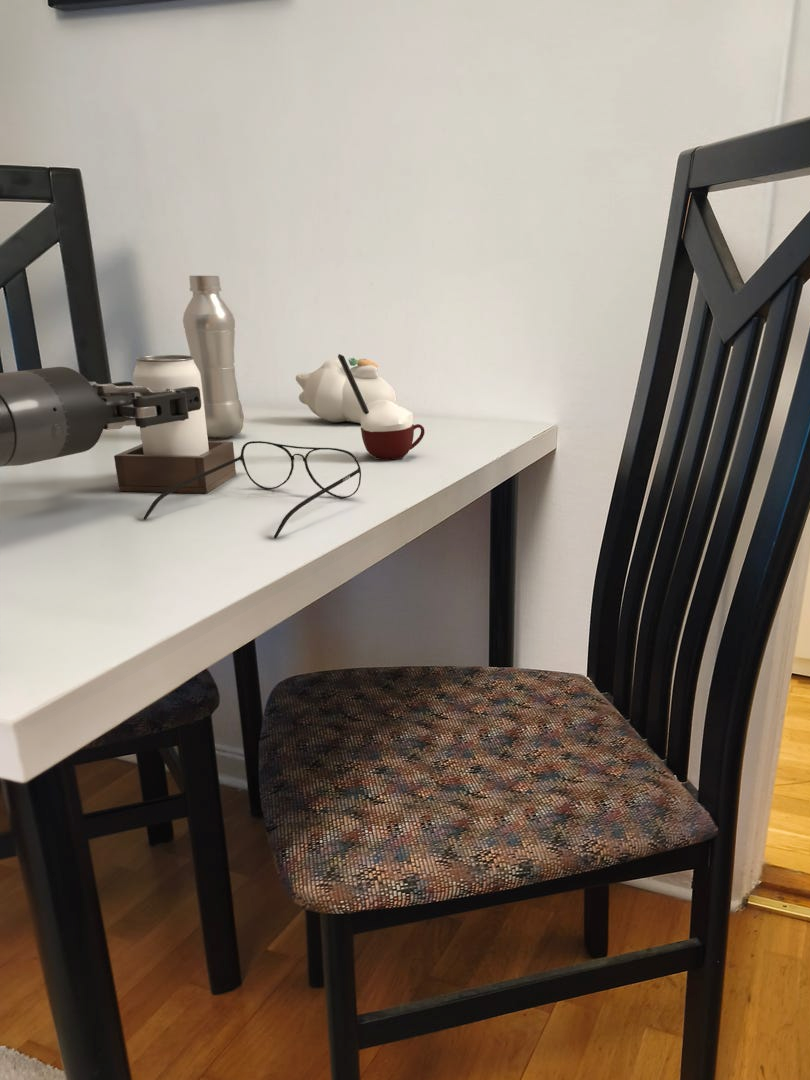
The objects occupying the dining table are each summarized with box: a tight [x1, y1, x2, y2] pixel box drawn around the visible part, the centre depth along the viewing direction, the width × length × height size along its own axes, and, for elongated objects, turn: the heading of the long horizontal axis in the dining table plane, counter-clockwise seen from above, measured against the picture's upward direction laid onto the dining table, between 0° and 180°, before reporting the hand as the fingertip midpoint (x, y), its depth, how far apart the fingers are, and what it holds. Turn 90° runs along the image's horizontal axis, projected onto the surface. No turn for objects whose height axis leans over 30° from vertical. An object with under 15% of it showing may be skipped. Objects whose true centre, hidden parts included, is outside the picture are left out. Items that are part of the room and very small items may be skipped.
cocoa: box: [337, 353, 425, 461], centre depth 105 cm, size 10×6×12 cm, turn 88°
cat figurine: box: [295, 357, 398, 424], centre depth 130 cm, size 10×8×15 cm
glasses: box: [142, 440, 362, 539], centre depth 83 cm, size 14×15×5 cm
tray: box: [113, 440, 237, 494], centre depth 93 cm, size 9×9×4 cm
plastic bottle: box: [182, 275, 245, 439], centre depth 115 cm, size 6×7×20 cm
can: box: [132, 354, 209, 456], centre depth 91 cm, size 6×6×12 cm
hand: (164, 394), depth 90 cm, fingers open, 8 cm apart
